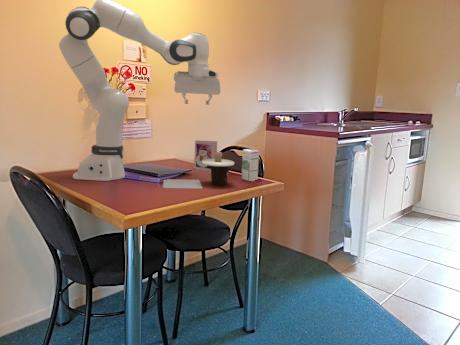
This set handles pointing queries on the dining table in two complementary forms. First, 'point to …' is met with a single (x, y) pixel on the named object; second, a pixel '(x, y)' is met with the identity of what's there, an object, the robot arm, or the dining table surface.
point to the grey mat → (181, 183)
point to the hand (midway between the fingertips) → (196, 104)
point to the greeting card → (204, 154)
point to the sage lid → (217, 161)
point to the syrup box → (250, 165)
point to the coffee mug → (219, 175)
